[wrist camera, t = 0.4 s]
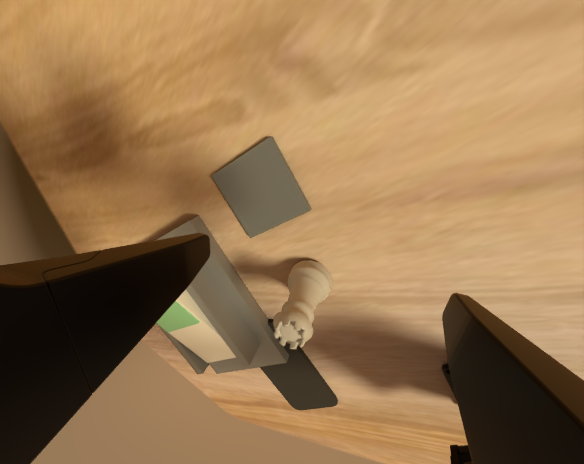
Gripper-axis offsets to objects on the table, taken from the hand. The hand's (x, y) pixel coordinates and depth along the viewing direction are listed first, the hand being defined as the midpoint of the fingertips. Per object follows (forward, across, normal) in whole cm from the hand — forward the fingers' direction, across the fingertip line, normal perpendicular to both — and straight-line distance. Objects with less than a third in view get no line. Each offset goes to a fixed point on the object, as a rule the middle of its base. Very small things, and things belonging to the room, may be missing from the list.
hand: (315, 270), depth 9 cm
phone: (+14, +3, +24) cm, 28 cm away
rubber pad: (+13, +8, +2) cm, 15 cm away
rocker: (+9, +14, +17) cm, 24 cm away
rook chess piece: (+14, +2, +10) cm, 17 cm away
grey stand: (+13, +14, +17) cm, 26 cm away
